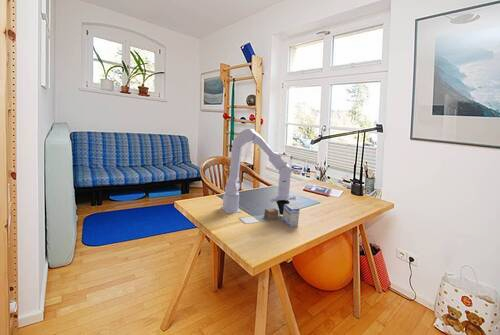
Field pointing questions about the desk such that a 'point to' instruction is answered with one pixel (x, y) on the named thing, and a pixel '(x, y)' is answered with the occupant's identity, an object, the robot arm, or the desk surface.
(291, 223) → the medicine box
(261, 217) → the board
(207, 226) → the desk surface
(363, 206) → the desk surface
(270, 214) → the walnut block
